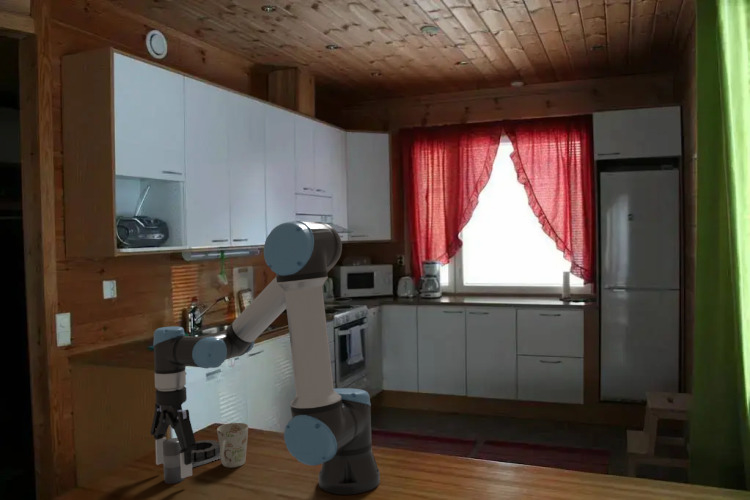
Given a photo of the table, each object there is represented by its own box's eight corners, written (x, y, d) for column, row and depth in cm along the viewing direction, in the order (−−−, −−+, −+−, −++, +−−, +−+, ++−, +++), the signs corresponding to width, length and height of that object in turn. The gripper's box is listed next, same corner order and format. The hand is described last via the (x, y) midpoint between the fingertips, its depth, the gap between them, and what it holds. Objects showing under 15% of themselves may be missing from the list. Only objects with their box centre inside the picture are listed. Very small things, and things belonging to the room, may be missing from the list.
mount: (236, 453, 175) (236, 443, 175) (185, 470, 163) (184, 459, 163) (215, 444, 183) (214, 434, 183) (164, 459, 172) (164, 449, 172)
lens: (188, 479, 157) (187, 440, 157) (169, 485, 153) (168, 445, 153) (179, 474, 161) (177, 436, 160) (160, 480, 157) (159, 441, 157)
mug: (253, 458, 171) (252, 422, 171) (239, 475, 158) (237, 437, 158) (224, 458, 172) (223, 422, 171) (207, 475, 159) (206, 437, 159)
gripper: (208, 392, 150) (211, 477, 151) (162, 377, 168) (165, 454, 168) (180, 398, 145) (183, 487, 145) (135, 383, 163) (138, 462, 163)
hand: (173, 469), depth 157 cm, fingers open, 13 cm apart
